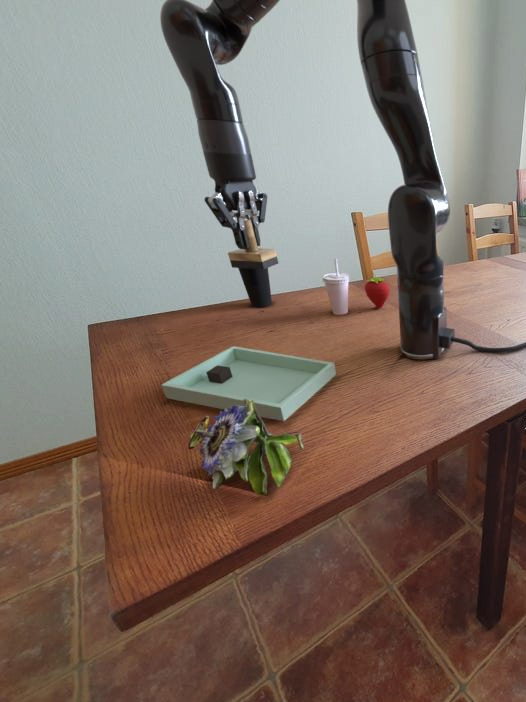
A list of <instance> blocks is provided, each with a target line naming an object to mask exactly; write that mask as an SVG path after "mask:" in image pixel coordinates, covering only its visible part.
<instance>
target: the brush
mask: <svg viewBox="0 0 526 702" xmlns="http://www.w3.org/2000/svg"><path fill="white" fill-rule="evenodd" d="M244 225H245V229H244V230H246V233H247V237H248V242H249V246H250V248H249V249H246V250H245V249H239V248H238V249H236V250H233V251H229V252H227V255H228V258H229V262H230V266H231V268H234V269H238V268H250V269H266V268H268V269H269V268H271V267H273V266H276V265H278V264H279V260H278V259H279V258H278V255H277V251H276V249H275V248H261V247H260V248H259V246H257V242H256V238H255V234H254V230H253V226H252V223H251V220H250V218H249V219H244Z"/></svg>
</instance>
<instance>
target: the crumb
mask: <svg viewBox="0 0 526 702" xmlns="http://www.w3.org/2000/svg"><path fill="white" fill-rule="evenodd" d="M206 373H207V376H208V379H209V382H214V383H221V384H222V383H224V382H225V381H227V380H228V379H230V378H231V377H232V373H231V370H230V367H224V366H216V367H214V368H212V369H211V370H209V371H207V372H206Z"/></svg>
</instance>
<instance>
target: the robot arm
mask: <svg viewBox="0 0 526 702" xmlns="http://www.w3.org/2000/svg"><path fill="white" fill-rule="evenodd" d="M280 2H281V0H211V2H210V4H209V5H208V6H207V7H205V8H204V7H201V6H199V5H197V4H195V3H194V2H193V3H192V2H190V1H189V0H165V1H164V2H163V4H162V6H161V9H160V15H159V16H160V17H159V20H160V28H161V32H162V35H163V38H164V41H165V43H166V46H167V48H168V50H169V53H170V55H171V57H172V60H173V61H174V63H175V66H176V67H177V69H178V72H179V73H180V76H181V78H182V80H183V81H184V84H185V85H186V87H187V89H188V91H189V96H190V100H191V103H192V108H193V112H194V116H195V120H196V125H197V133H198V137H199V141H200V145H201V149H202V153H203V157H204V160H205V164H206V165H205V166H206V169H207V172H208V176H209V177H210V178H211V179H212V180H213V181H214V193H213V194H212V196H205V197H204V203H205V204H206V206H208V208H209V210H210V211H211V212H212V213H213V215H214V216H215V218H216V220H217V221H218V222H219V224H220V225H221V227H222V228H228V229H230V230H231V231H232V234H233V235H232V236H233V238H234V243H235V245H236V247H237V248H238V249H245V250H246V249H249V248H250V246H249V242H248V237H247V233H246V230H244V229H245V225H244V219H250V220H251V223H252V226H253V230H254V234H255V238H256V242H257V246H258V247H260V246H261V237H260V232H259V227H260V224H261V223H262V224H263V223H265V220H266V214H267V213H266V211H267V204H268V195H267V193H265V192H260V191H258V190H257V188H256V186H255V184H254V180H257V175H256V170H255V166H254V160H253V156H252V150H251V146H250V145H251V144H250V141H249V137H248V134H247V131H246V128H245V125H244V119H243V115H242V111H241V105H240V100H239V97H238V93H237V90H236V89H235V88H234V87H233V85H232V84H230V83H229V82H227V81H226V80H225V79H224V78H223V77H222V75H221V73H220V71H219V68H218V66H224V65H227V64H229V63H231V62H232V61H234V60H235V59H236V58H237V57H238V56H239V55H240V53H241V52H242V50H243V48H244V47H245V45H246V43H247V41H248V40H249V37H250V35H251V33H252V30H253V29H254V27H255V26H256V25H257V24H258V23H260V22H261V21H262V20H263V19H264V18H265V17H266V16H267V15H268V14H269V13H270V12H271V11H272V10H274V8H275V7H276V6H277V5H278V4H279V3H280ZM356 4H357V6H356V9H357V18H356V20H357V21H356V29H357V30H356V41H357V50H358V56H359V61H360V62H359V63H360V65H361V70H362V75H363V79H364V83H365V88H366V90H367V91H366V92H367V94H368V97H369V100H370V104H371V107H372V109H373V111H374V113H375V115H376V116H377V118H378V121H379V122H380V124H381V126H382V128H383V130H384V131H385V133H386V135H387V137H388V139H389V140H390V142H391V144H392V146H393V148H394V150H395V153H396V155H397V158H398V161H399V164H400V169H401V174H402V178H403V184H402V185H400V186H398V187H397V188H395V189H394V190H393V192H392V193H391V195H390V197H389V200H388V204H387V223H388V234H389V244H390V252H391V257H392V259H393V262H394V264H395V268H396V281H397V301H398V318H399V319H398V321H399V322H398V323H399V338H400V339H399V340H400V345H399V346H400V347H399V348H400V352H402V353H401V355H402V356H404V357H406V358H409V359H411V360H418V361H424V360H432V359H434V360H439V359H440V357H441V356H442V355H443V353H444V352H445V350H446V349H448V350H449V349H450V348H451V346H453V343H458V344H462V345H466V346H468V347H469V348H471V349H473V350H475V351H479V352H484V353H485V352H486V353H508V352H509V353H510V352H514V351H518V350H521V349H524V348H526V341H525V342H522V343H520V344H517V345H513V346H508V347H507V346H505V347H487V346H486V347H484V346H480V345H477V344H476V343H475V344H474V343H473V342H472V341H470V340H467V339H463V338H460V337H455V334H456V333H455V328H450V327H448V308H447V307H446V306H445V260H444V259H443V257H442V256H440V255H439V254H438V250H437V249H438V248H437V234H438V233H439V232H441V231H443V229H444V228H445V227H446V226H447V225H448V222H449V220H450V215H451V205H450V200H449V195H448V193H447V192H448V191H447V188H446V185H445V182H444V179H443V175H442V171H441V168H440V164H439V161H438V156H437V152H436V148H435V142H434V138H433V137H434V136H433V132H432V126H431V119H430V115H429V114H430V113H429V110H428V105H427V100H426V94H425V93H426V92H425V86H424V81H423V75H422V69H421V66H420V60H419V55H418V50H417V46H416V41H415V37H414V32H413V31H414V30H413V27H412V23H411V19H410V14H409V11H408V5H407V2H406V0H356Z"/></svg>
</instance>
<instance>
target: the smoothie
mask: <svg viewBox="0 0 526 702" xmlns="http://www.w3.org/2000/svg"><path fill="white" fill-rule="evenodd" d="M333 261H334V267H335V272H329V273H325V274H324V275H323V276H322V282H323V283H324V285H325V288H326V293H327V297H328V300H329V303H330V306H331V307H330V308H331V310H332V314H333V315H335V316H343V315H346V314H348V313H349V281H350V276H349V274H348V273H344V272H339V265H338V259H337V258H334V260H333Z"/></svg>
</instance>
